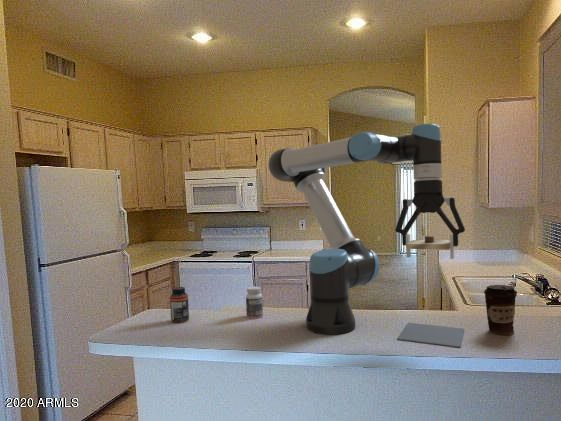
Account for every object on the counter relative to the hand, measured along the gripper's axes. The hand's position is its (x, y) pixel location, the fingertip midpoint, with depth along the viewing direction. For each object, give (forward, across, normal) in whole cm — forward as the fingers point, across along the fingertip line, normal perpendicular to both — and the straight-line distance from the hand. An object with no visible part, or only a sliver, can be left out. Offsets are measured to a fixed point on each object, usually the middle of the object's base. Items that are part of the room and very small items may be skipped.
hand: (429, 257), depth 113 cm
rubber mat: (+22, 0, 0) cm, 22 cm away
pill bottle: (+22, -57, -3) cm, 61 cm away
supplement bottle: (+22, -78, -17) cm, 83 cm away
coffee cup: (+22, +17, +9) cm, 30 cm away
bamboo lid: (-3, 0, 0) cm, 3 cm away
